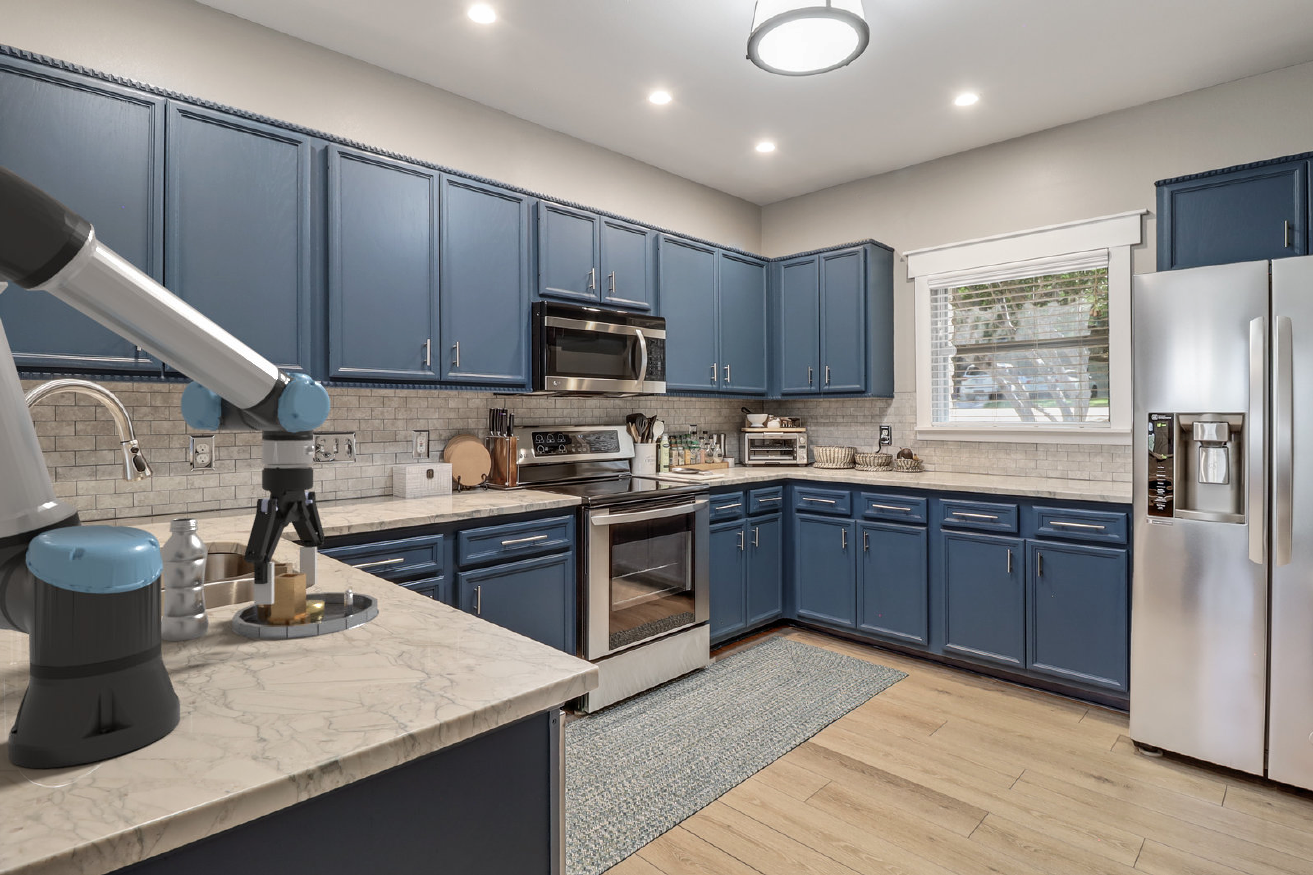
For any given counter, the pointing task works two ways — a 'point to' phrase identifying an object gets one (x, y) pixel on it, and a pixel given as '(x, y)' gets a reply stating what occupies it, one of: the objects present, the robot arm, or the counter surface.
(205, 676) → the counter surface
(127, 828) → the counter surface
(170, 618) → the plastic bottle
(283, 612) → the hollow wooden square post
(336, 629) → the bowl
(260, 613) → the tan square tube
